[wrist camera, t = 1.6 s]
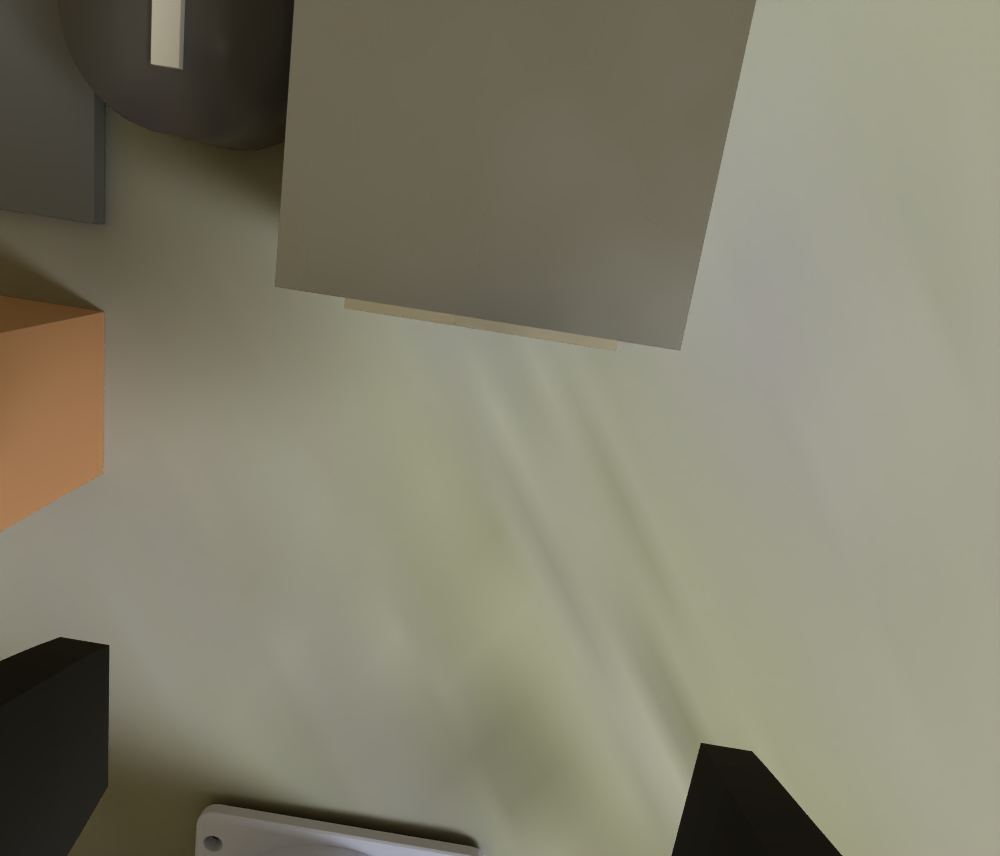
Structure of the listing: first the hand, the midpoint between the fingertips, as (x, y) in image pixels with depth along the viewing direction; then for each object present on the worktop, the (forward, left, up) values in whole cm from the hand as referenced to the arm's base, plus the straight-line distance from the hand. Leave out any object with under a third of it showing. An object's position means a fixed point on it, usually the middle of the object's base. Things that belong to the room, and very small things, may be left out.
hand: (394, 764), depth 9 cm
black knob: (+9, +6, -10) cm, 14 cm away
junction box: (+9, 0, -9) cm, 13 cm away
